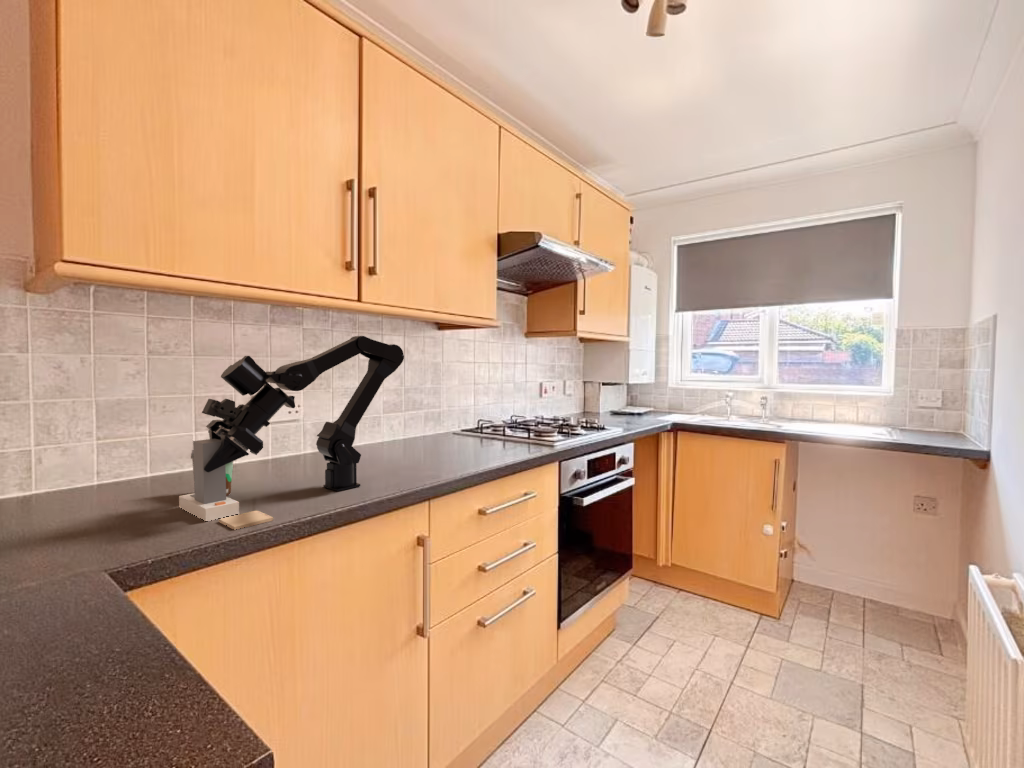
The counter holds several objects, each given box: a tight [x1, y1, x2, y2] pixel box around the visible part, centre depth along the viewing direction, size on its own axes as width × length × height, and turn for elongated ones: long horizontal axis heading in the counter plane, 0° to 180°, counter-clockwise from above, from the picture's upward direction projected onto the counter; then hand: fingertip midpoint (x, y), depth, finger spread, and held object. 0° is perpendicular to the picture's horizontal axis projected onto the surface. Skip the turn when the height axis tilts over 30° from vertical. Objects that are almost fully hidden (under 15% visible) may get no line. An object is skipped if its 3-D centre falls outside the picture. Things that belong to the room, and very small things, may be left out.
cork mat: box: [218, 510, 274, 531], centre depth 93 cm, size 7×7×1 cm
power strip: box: [178, 492, 240, 522], centre depth 101 cm, size 6×19×3 cm, turn 52°
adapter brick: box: [192, 438, 227, 504], centre depth 99 cm, size 4×5×12 cm
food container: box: [190, 449, 236, 497], centre depth 113 cm, size 12×6×10 cm, turn 59°
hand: (201, 468), depth 98 cm, fingers closed on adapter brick, 5 cm apart
